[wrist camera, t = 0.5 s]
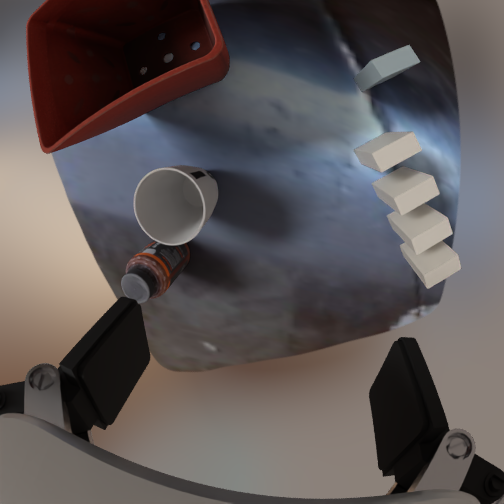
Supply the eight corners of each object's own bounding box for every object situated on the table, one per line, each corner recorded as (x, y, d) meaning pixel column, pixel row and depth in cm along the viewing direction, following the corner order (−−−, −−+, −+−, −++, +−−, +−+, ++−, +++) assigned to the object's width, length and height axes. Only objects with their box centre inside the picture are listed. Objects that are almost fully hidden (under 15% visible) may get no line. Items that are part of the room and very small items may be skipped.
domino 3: (402, 166, 31) (432, 176, 22) (408, 179, 31) (439, 193, 23) (371, 183, 32) (393, 198, 24) (378, 197, 33) (401, 215, 25)
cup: (233, 163, 34) (209, 172, 25) (225, 223, 37) (202, 252, 28) (174, 156, 35) (134, 164, 26) (170, 213, 38) (133, 238, 29)
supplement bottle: (162, 224, 39) (120, 255, 29) (197, 245, 39) (164, 283, 29) (150, 256, 41) (110, 293, 31) (182, 276, 42) (149, 319, 32)
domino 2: (385, 132, 29) (413, 131, 21) (393, 146, 30) (421, 150, 22) (353, 149, 31) (371, 153, 23) (361, 163, 32) (381, 172, 23)
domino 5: (428, 229, 33) (458, 254, 25) (432, 241, 34) (461, 268, 25) (399, 245, 35) (423, 275, 27) (404, 257, 35) (427, 289, 27)
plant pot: (217, -17, 24) (171, -83, 9) (260, 91, 30) (227, 52, 15) (104, 41, 29) (25, 20, 13) (131, 143, 35) (43, 158, 20)
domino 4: (416, 198, 32) (447, 217, 24) (421, 211, 32) (452, 233, 24) (386, 215, 34) (410, 239, 25) (392, 228, 34) (416, 255, 26)
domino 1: (384, 64, 26) (409, 44, 18) (392, 77, 26) (420, 61, 18) (353, 78, 28) (371, 60, 19) (362, 92, 28) (382, 78, 20)
